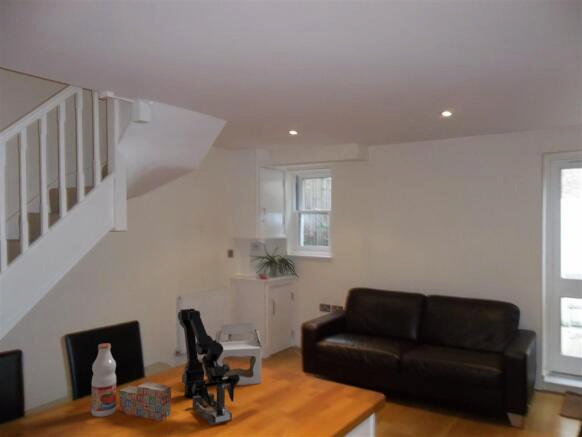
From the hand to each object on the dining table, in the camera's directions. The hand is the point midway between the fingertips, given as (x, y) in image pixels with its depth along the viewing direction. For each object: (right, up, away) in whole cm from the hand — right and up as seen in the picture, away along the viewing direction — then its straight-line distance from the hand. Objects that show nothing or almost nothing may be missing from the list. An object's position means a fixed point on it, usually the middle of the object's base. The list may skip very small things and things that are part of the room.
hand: (221, 403), depth 183 cm
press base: (-6, -8, +9) cm, 13 cm away
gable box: (0, -8, +50) cm, 50 cm away
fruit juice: (-50, -8, +10) cm, 52 cm away
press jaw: (-1, -6, +1) cm, 7 cm away
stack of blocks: (-33, -8, +9) cm, 35 cm away
